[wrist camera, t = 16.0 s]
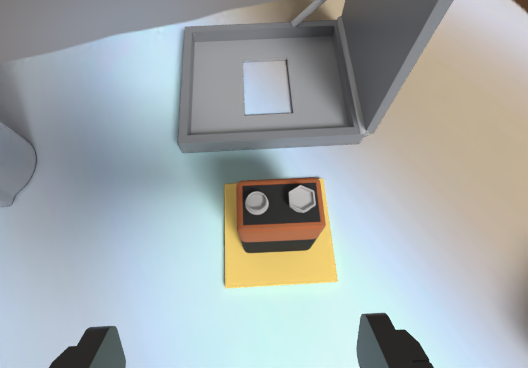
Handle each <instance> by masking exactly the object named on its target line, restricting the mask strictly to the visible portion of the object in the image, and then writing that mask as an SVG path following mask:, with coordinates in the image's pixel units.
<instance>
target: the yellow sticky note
mask: <svg viewBox="0 0 528 368" xmlns="http://www.w3.org/2000/svg"><path fill="white" fill-rule="evenodd" d="M319 180H320V183H321V191H322V199H323V206H324V214H325V222H326V226H325V228H324V229H323V231H322V232H321V233H320V235H319V236H318V238H317V239H316V241H315V242H314V244H313V245H312V247H311V248H310V249H309V250H306V251H287V252H267V253H246V252H245V251H244V249H243V246H242V243H241V240H240V237H239V234H238V231H237V211H236V185H237V183H230V184H225V288H240V287H257V286H274V285H291V284H308V283H325V282H337V281H338V280H337V273H336V266H335V258H334V251H333V244H332V237H331V230H330V223H329V216H328V209H327V202H326V195H325V188H324V181H323V179H319Z"/></svg>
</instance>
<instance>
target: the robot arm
mask: <svg viewBox="0 0 528 368" xmlns="http://www.w3.org/2000/svg"><path fill="white" fill-rule="evenodd" d="M35 165H36V155H35V151H34V149H33V147H32V145H31V144H30V143H29V142H28V141H27V140H25V139H24V138H23V137H21V136H20V135H18V134H17V133H16V132H14V131H13V130H11V129H10V128H9V127H7V126H6V125H5V124H3V123H2V122H0V206H10V205H12V202H13V199H14V197H15V195H16V194H17V193H18V192H19V191H20V190H21V189H22V188H23V187H24V186H25V185H26V184H27V182H28V181H29V180H30V178H31V176H32V174H33V172H34V169H35ZM357 358H358V363H359V366H360V368H434V367H433V365H432V364H431V363H430V362H429V359H428V357H427V355H426V354H425V352H424V350H423V348H422V347H421V345H420V343H419V342H418V341H417V340H415V339H414V338H413V337H412V336H411V335H410V334H409V333H408V332H407V331H406V330H395V328H394V326H393V324H392V322H391V320H390V318H389V317H388V315H387V314H386V313H371V314H362V315H361V318H360V325H359V332H358V340H357ZM125 367H126V360H125V355H124V352H123V348H122V345H121V341H120V338H119V334H118V330H117V328H116V327H115V326H102V327H90V328H88V329H87V330H86V331H85V333H84V334H83V336H82V338H81V340H80V341H79V343H78V345H77V346H70V347H68V348H67V349H66V350H65V351H64V352H63V353H62V354H61V355H60V356H58V357H57V358H56V359H55V360H54V361H53V362H52V364H51V365H50V367H49V368H125Z"/></svg>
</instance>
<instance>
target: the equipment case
mask: <svg viewBox="0 0 528 368" xmlns="http://www.w3.org/2000/svg"><path fill="white" fill-rule="evenodd" d="M325 1H326V0H315V1H314V2H313V3H311V4H310V5H309V6H308V7H307V8H306V9H305V10H304V11H302V12H301V13H300V14H299V15H298V16H297V17H296V18H295V19H293V20H292V21H291V22H281V23H259V24H236V25H214V26H191V27H185V33H184V49H183V66H182V82H181V99H180V116H179V132H178V145H179V147H180V149H181V151H182V153H192V152H211V151H231V150H250V149H270V148H290V147H309V146H329V145H348V144H359V143H360V141H361V140H362V138H363V137H366V136H369V135H370V134H373V133H374V132H375V130H376V128H377V127H378V125H379V123H380V122H381V120H382V118H383V117H384V115H385V113H386V112H387V110H388V108H389V107H390V105H391V103H392V102H393V100H394V98H395V97H396V95H397V93H398V92H399V90H400V88H401V87H402V85H403V83H404V82H405V80H406V78H407V77H408V75H409V73H410V72H411V70H412V68H413V67H414V65H415V63H416V62H417V60H418V58H419V57H420V55H421V53H422V52H423V50H424V48H425V47H426V45H427V43H428V42H429V40H430V38H431V37H432V35H433V33H434V32H435V30H436V29H437V27H438V25H439V24H440V22H441V20H442V19H443V17H444V15H445V14H446V12H447V10H448V9H449V7H450V5H451V4H452V2H453V0H345V4H344V8H343V12H342V16H340V17H338V19H337V20H326V21H304V22H302V21H303V20H304V19H305V18H307V17H308V16H309V15H310V14H311V13H312V12H314V11H315V10H316V9H317V8H318V7H319V6H321V5H322V4H323V3H324V2H325ZM281 60H287V65H288V74H289V83H290V92H291V102H292V111H293V113H286V114H266V115H246V116H245V107H244V80H243V62H259V61H281Z"/></svg>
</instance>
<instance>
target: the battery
mask: <svg viewBox="0 0 528 368" xmlns="http://www.w3.org/2000/svg"><path fill="white" fill-rule="evenodd" d="M236 211H237V231H238V234H239V237H240V240H241V243H242V246H243V249H244V251H245V252H246V253H267V252H287V251H306V250H309V249H310V248H311V247H312V245H313V244H314V242H315V241H316V239H317V238H318V236H319V235H320V233H321V232H322V231H323V229H324V228H325V226H326V222H325V214H324V206H323V199H322V191H321V183H320V180H319V179H318V178H291V179H269V180H248V181H240V182H238V183H237V185H236Z"/></svg>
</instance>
